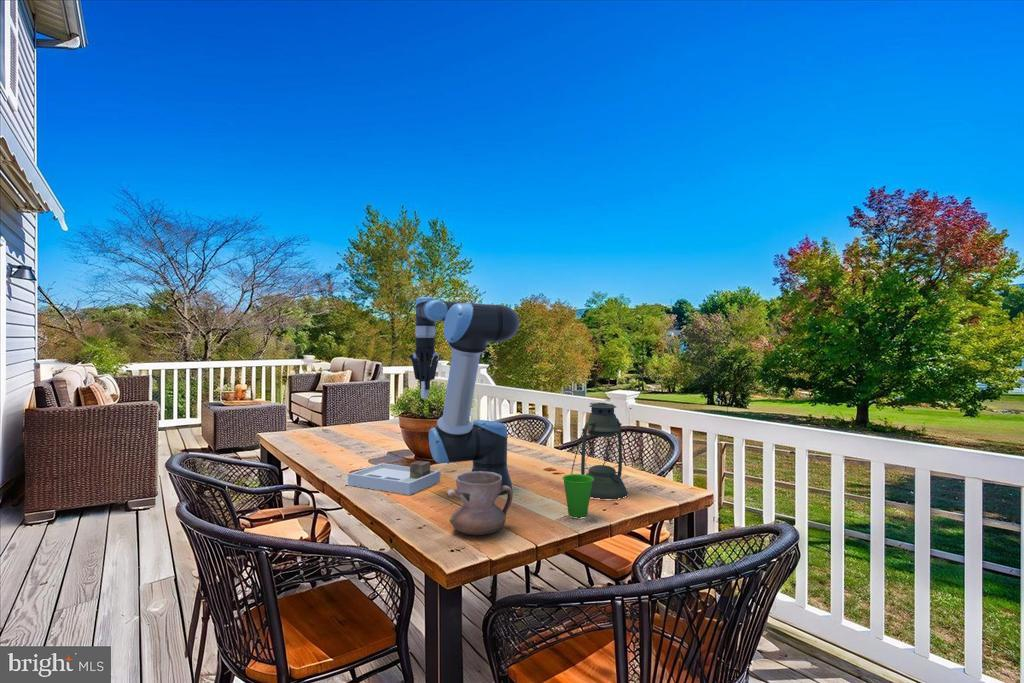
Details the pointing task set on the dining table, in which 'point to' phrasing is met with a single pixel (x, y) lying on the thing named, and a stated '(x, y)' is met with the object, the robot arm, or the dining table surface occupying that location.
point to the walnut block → (419, 469)
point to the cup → (578, 493)
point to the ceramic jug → (479, 503)
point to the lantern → (604, 476)
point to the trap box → (392, 479)
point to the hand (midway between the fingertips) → (424, 398)
